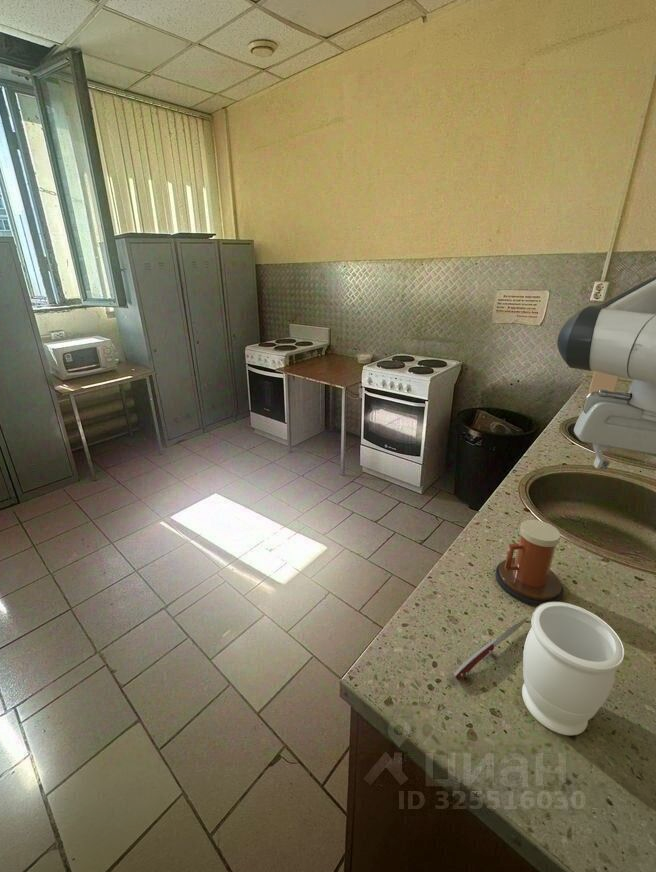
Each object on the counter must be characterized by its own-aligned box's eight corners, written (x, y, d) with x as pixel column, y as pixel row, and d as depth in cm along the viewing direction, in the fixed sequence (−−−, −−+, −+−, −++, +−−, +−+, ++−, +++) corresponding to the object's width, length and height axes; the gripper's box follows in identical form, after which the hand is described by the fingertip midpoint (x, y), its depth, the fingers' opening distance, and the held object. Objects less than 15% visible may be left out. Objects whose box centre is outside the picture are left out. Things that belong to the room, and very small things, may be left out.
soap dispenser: (585, 404, 177) (598, 355, 169) (588, 399, 183) (600, 352, 175) (621, 409, 169) (636, 359, 161) (623, 404, 175) (637, 355, 167)
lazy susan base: (547, 565, 85) (548, 561, 85) (573, 610, 74) (575, 606, 74) (488, 560, 87) (489, 556, 87) (505, 603, 76) (506, 599, 76)
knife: (456, 687, 62) (458, 673, 60) (449, 680, 63) (451, 667, 61) (529, 626, 71) (533, 613, 70) (522, 621, 72) (525, 609, 71)
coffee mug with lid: (538, 558, 86) (549, 511, 81) (573, 598, 75) (589, 547, 71) (488, 561, 85) (497, 514, 81) (517, 602, 75) (529, 550, 71)
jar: (531, 659, 65) (549, 589, 60) (606, 708, 58) (634, 634, 53) (501, 702, 59) (518, 628, 54) (581, 764, 52) (610, 686, 46)
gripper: (596, 392, 64) (568, 468, 68) (755, 415, 58) (713, 495, 63) (582, 383, 69) (558, 454, 74) (726, 403, 64) (690, 478, 69)
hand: (630, 473), depth 68 cm, fingers open, 8 cm apart
